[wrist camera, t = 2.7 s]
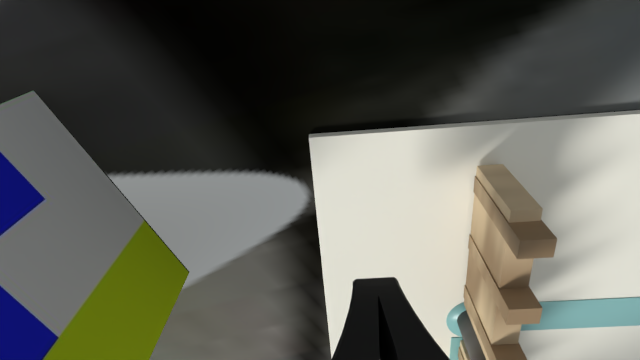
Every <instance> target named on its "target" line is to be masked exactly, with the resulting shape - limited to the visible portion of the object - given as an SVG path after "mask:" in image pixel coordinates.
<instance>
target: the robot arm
mask: <svg viewBox="0 0 640 360" xmlns="http://www.w3.org/2000/svg"><path fill="white" fill-rule="evenodd" d="M380 359H381V360H450V359H449V358H448V356H447V355H446V354H445V353H444V352H443V350H442V349H441V348H440V346H439V345H438V344H437V343H436V341H435V340H434V339H433V337H432V336H431V335H430V333H429V332H428V331H427V329H426V328H425V326H424V325H423V323H422V322H421V320H420V319H419V317H418V316H417V314H416V313H415V311H414V310H413V308H412V307H411V305H410V303H409V301H408V300H407V298H406V296H405V294H404V293H403V291H402V289H401V287H400V285H399V282H398V280H397V279H396V278H395V277H384V278H365V279H355V280H354V281H353V288H352V297H351V302H350V306H349V311H348V314H347V318H346V321H345V324H344V328H343V331H342V334H341V336H340V339H339V342H338V344H337V347H336V350H335V352H334V355H333V357H332V359H331V360H380Z"/></svg>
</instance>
